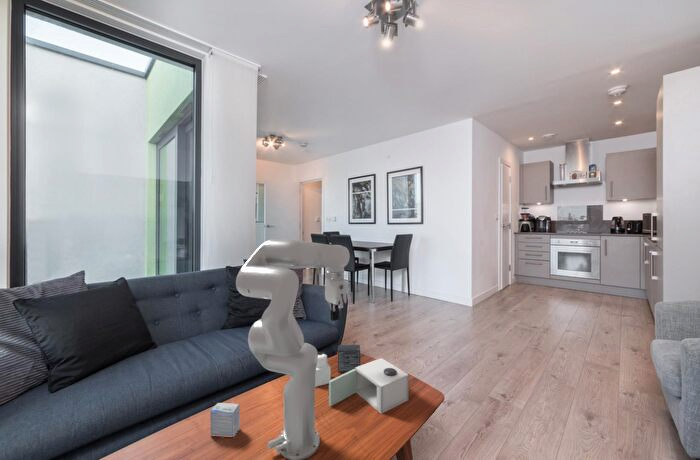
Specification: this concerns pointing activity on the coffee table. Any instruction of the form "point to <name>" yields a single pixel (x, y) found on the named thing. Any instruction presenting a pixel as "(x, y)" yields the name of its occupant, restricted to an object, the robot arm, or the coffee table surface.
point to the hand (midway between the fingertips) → (334, 319)
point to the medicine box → (225, 419)
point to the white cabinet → (382, 384)
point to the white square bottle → (322, 370)
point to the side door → (342, 387)
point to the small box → (348, 357)
